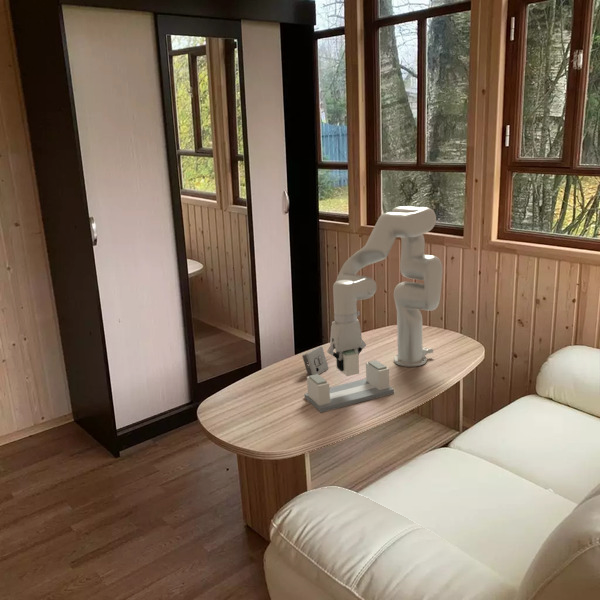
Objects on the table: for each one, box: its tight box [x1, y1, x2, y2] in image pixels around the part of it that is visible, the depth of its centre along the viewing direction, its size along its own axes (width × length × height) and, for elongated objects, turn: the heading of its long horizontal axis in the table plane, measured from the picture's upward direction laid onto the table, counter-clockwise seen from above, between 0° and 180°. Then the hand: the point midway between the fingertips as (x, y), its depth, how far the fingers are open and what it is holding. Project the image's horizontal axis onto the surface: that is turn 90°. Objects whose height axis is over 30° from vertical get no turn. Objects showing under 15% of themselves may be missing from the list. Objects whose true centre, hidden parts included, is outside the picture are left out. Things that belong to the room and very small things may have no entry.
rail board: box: [303, 378, 395, 413], centre depth 209 cm, size 28×13×2 cm, turn 114°
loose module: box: [335, 350, 360, 377], centre depth 205 cm, size 4×8×8 cm, turn 24°
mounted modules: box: [306, 359, 390, 406], centre depth 207 cm, size 27×9×8 cm, turn 114°
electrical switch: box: [301, 346, 329, 376], centre depth 230 cm, size 9×5×9 cm, turn 141°
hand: (347, 367), depth 206 cm, fingers closed on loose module, 4 cm apart
